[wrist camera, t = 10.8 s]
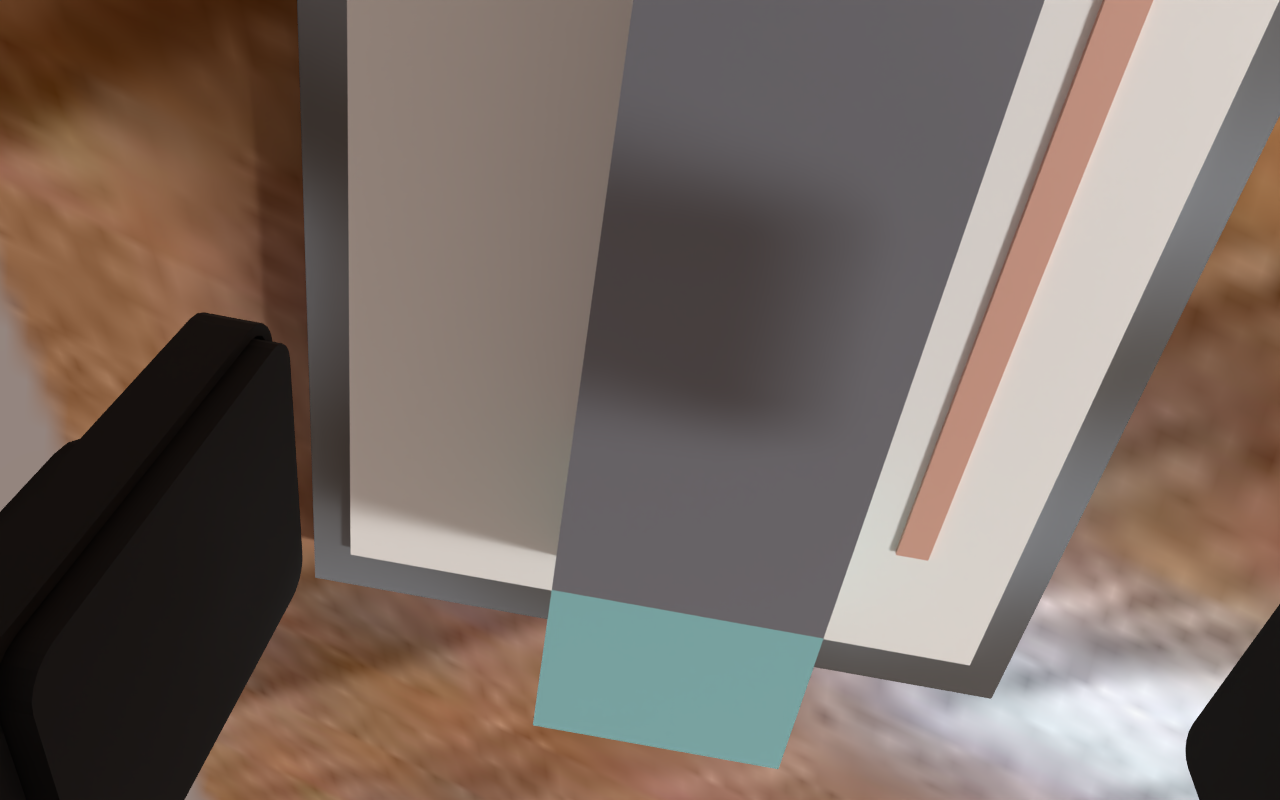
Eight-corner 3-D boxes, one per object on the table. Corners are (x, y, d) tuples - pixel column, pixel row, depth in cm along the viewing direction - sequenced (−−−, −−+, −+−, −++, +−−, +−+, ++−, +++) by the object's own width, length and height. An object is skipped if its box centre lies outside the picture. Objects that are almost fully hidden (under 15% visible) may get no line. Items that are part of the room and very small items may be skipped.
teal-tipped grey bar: (706, -350, 12) (685, -377, 9) (1042, -291, 12) (1146, -295, 9) (570, 559, 20) (532, 724, 17) (775, 595, 20) (778, 769, 17)
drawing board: (311, -486, 13) (270, -505, 12) (1432, -286, 13) (1493, -287, 12) (332, 545, 22) (310, 587, 21) (982, 662, 22) (993, 710, 21)
